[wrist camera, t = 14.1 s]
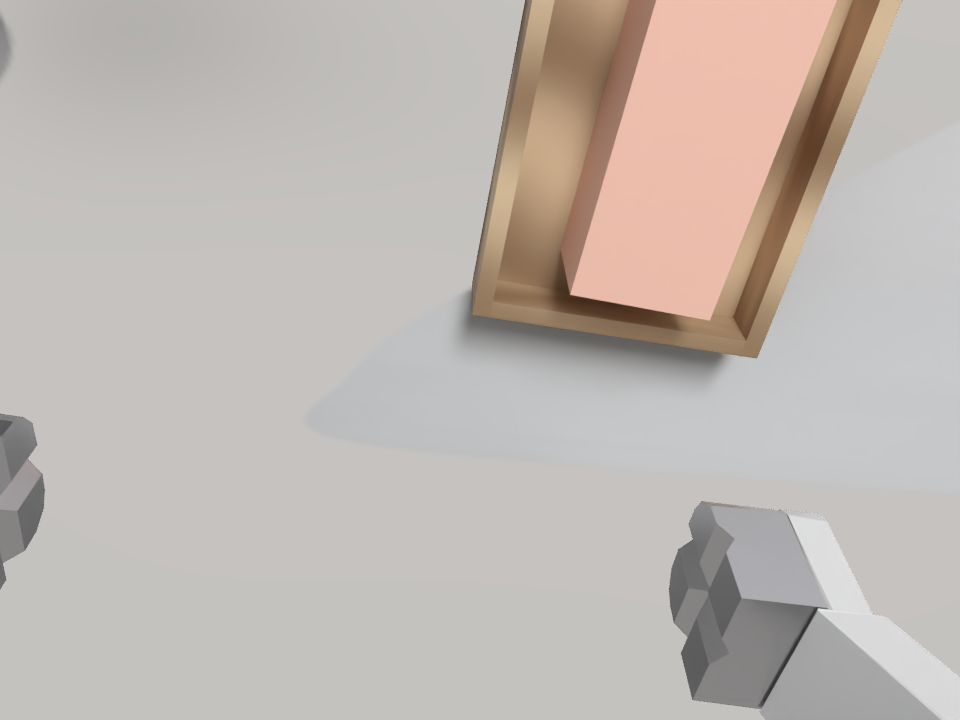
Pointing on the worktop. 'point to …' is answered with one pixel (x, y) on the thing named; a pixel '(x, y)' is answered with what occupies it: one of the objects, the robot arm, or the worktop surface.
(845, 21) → the tray
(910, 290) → the worktop surface
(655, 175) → the pink rectangular block
